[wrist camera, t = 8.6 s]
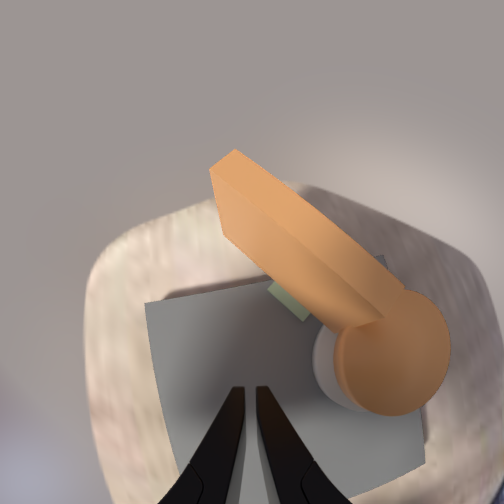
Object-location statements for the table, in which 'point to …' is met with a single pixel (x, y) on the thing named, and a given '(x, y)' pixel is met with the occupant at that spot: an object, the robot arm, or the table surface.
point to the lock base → (271, 385)
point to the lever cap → (337, 290)
